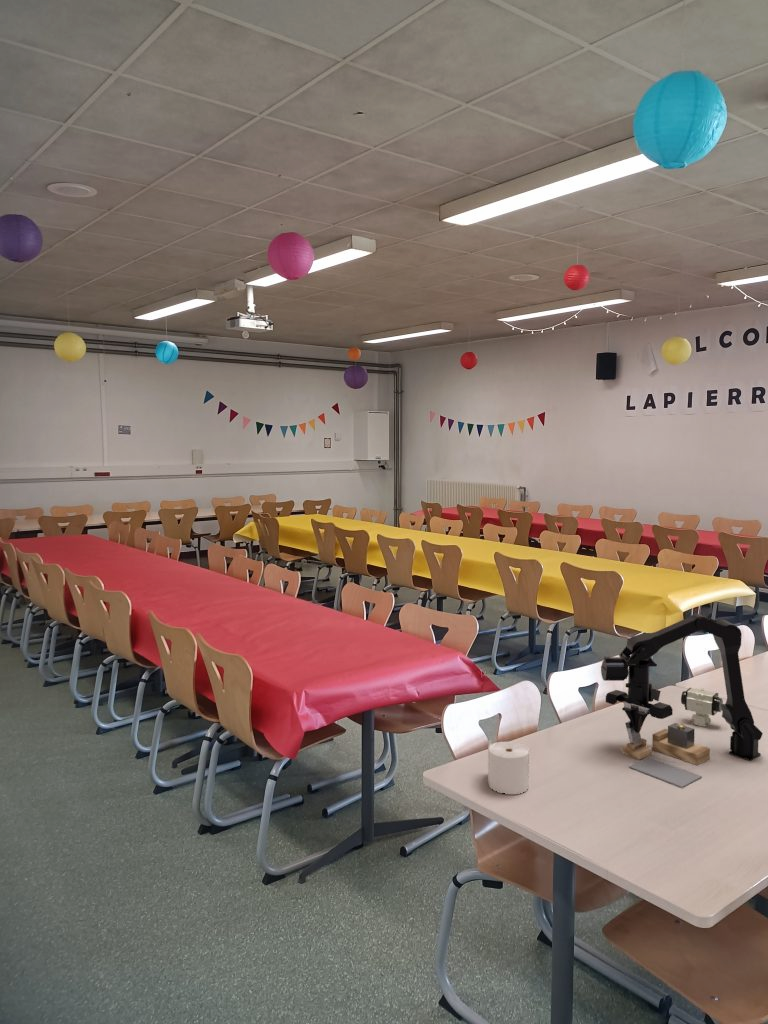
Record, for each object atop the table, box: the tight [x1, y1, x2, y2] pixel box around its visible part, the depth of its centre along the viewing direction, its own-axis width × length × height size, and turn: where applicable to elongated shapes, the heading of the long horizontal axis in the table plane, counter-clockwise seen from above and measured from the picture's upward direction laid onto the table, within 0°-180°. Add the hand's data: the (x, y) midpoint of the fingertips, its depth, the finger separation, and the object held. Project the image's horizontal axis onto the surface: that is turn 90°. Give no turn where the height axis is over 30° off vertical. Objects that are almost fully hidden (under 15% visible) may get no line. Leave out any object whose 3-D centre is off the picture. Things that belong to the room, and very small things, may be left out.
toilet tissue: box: [487, 738, 530, 795], centre depth 192 cm, size 11×12×10 cm
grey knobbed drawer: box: [667, 722, 695, 749], centre depth 211 cm, size 6×4×6 cm, turn 38°
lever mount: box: [621, 737, 653, 761], centre depth 211 cm, size 6×7×4 cm
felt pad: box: [628, 756, 703, 789], centre depth 199 cm, size 16×10×1 cm, turn 38°
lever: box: [624, 720, 642, 748], centre depth 212 cm, size 1×4×8 cm, turn 128°
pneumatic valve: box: [680, 687, 724, 728], centre depth 233 cm, size 6×12×12 cm, turn 51°
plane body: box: [651, 728, 711, 766], centre depth 211 cm, size 14×7×5 cm, turn 38°
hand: (637, 732), depth 211 cm, fingers closed
